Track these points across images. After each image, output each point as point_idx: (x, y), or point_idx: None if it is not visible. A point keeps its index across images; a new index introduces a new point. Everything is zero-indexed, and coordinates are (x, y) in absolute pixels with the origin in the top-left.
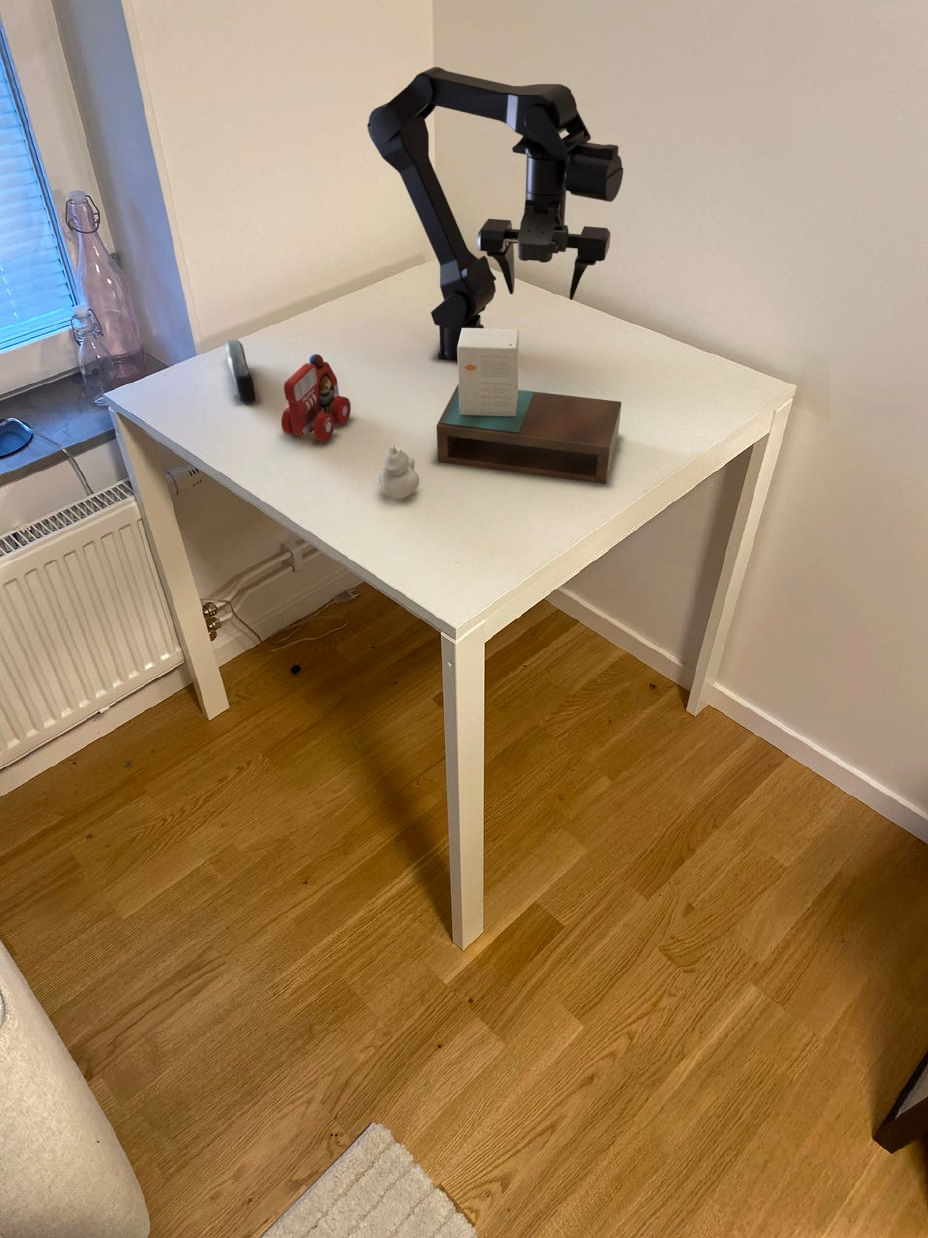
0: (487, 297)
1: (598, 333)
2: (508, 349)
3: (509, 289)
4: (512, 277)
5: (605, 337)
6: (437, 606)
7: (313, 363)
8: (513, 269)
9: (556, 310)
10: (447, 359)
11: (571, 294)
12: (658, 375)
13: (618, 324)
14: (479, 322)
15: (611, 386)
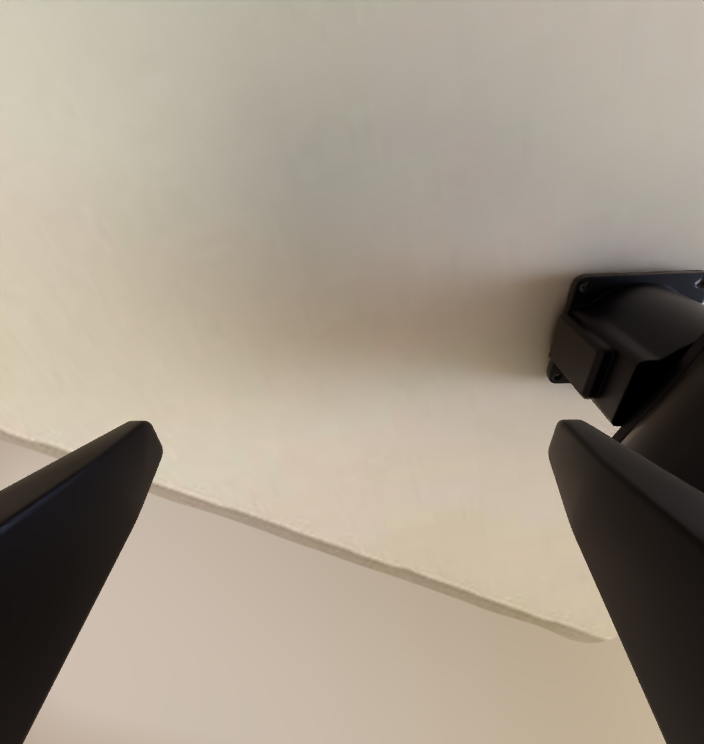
0: (653, 454)
1: (280, 471)
2: None
3: (605, 438)
4: (628, 544)
5: (260, 460)
6: None
7: None
8: (640, 635)
9: (389, 527)
10: (672, 271)
11: (104, 440)
12: (71, 336)
13: (255, 503)
14: (607, 395)
15: (142, 249)
